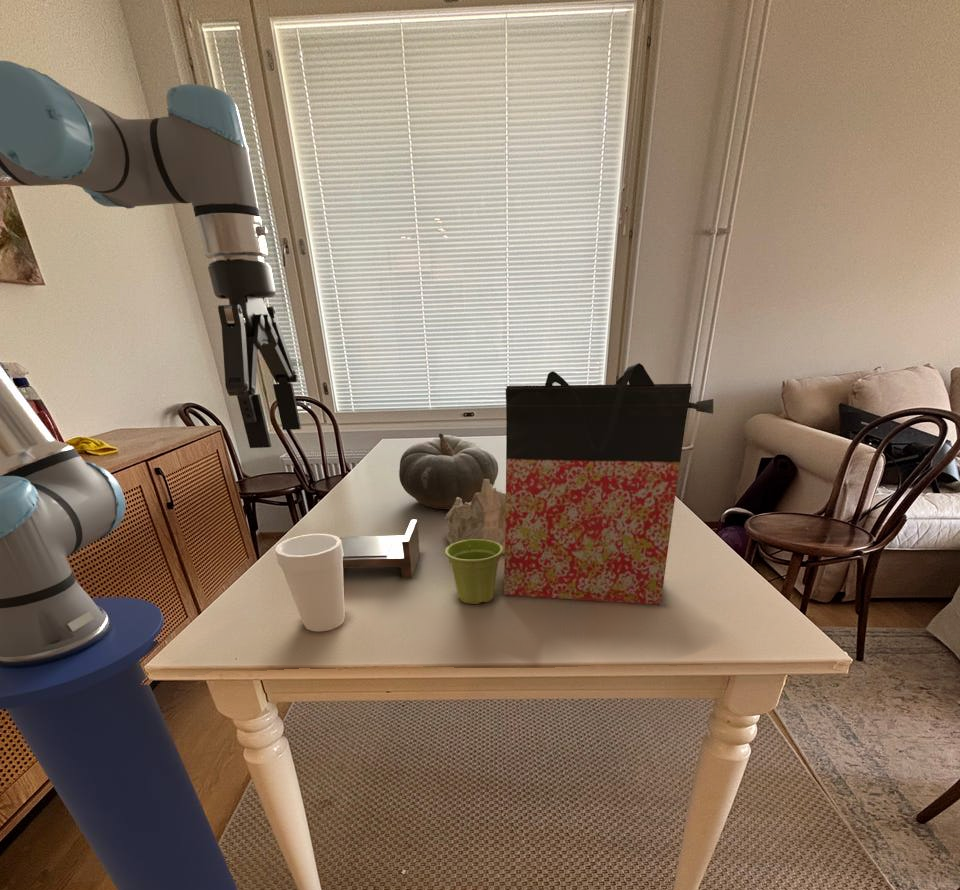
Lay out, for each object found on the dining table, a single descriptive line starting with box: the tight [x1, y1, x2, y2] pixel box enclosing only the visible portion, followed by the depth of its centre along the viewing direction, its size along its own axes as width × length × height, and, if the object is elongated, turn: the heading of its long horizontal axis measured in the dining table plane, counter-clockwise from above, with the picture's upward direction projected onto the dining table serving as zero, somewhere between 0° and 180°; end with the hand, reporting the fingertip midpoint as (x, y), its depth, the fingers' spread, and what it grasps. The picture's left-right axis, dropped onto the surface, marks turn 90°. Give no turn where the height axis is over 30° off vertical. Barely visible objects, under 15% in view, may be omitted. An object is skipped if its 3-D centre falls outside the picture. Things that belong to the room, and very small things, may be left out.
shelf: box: [338, 519, 421, 580], centre depth 103 cm, size 16×12×7 cm
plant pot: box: [444, 539, 503, 605], centre depth 89 cm, size 9×9×9 cm
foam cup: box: [274, 533, 346, 632], centre depth 82 cm, size 10×9×13 cm
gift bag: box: [503, 362, 714, 606], centre depth 84 cm, size 29×14×35 cm, turn 78°
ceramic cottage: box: [445, 479, 506, 555], centre depth 110 cm, size 16×16×15 cm
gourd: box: [398, 432, 499, 510], centre depth 136 cm, size 25×25×17 cm
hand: (277, 437), depth 79 cm, fingers open, 13 cm apart
